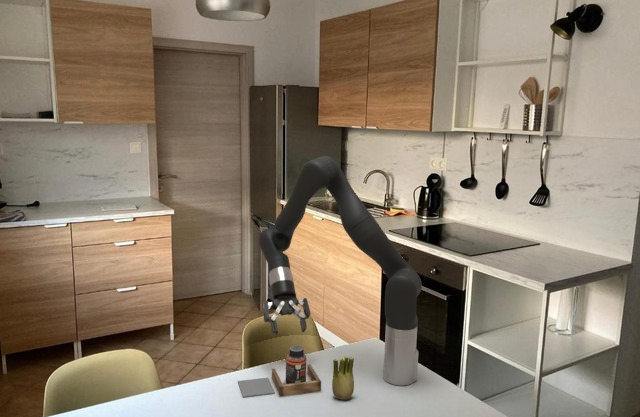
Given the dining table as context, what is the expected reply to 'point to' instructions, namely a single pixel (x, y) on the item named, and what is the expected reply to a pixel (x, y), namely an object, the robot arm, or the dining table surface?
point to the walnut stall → (297, 384)
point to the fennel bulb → (343, 378)
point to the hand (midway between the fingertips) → (290, 332)
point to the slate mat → (256, 387)
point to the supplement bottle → (296, 365)
